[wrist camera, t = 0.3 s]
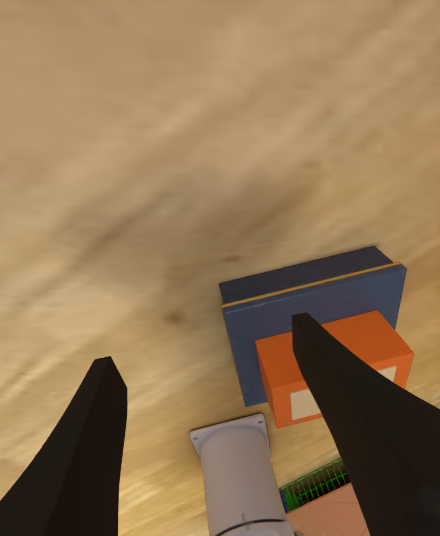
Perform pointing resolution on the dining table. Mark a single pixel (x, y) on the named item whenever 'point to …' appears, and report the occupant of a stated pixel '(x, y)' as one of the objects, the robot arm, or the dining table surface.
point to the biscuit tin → (305, 303)
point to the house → (327, 512)
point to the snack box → (352, 337)
